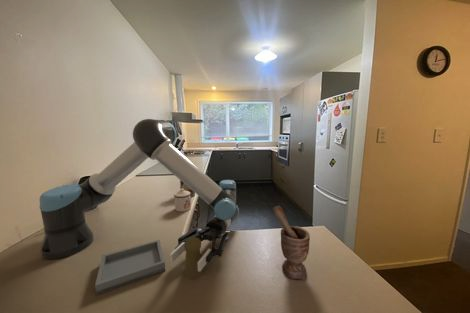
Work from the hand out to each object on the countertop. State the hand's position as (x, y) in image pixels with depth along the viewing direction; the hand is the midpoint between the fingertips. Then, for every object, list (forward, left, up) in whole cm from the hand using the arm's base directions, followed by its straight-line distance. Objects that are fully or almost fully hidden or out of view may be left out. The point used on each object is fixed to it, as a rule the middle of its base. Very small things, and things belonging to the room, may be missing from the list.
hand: (184, 262), depth 54 cm
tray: (-14, +15, -6) cm, 21 cm away
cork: (+3, +3, -7) cm, 8 cm away
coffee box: (+19, +72, -7) cm, 75 cm away
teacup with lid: (+13, +53, -7) cm, 55 cm away
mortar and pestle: (+30, -11, -7) cm, 33 cm away
